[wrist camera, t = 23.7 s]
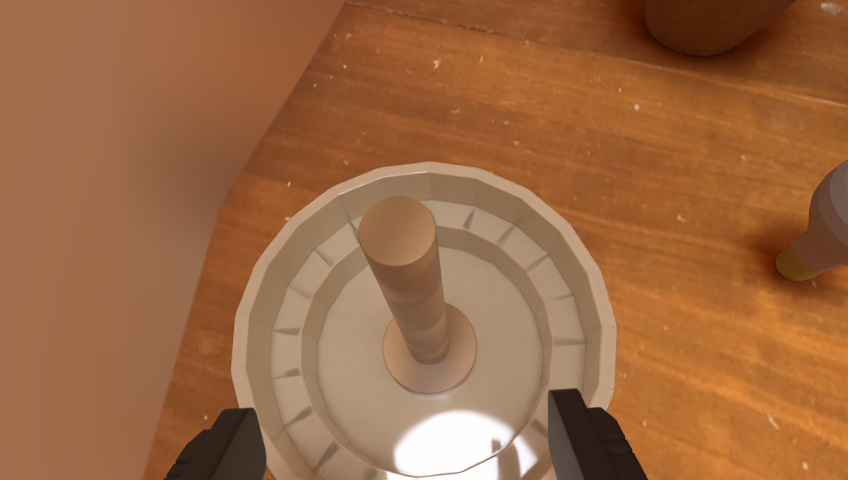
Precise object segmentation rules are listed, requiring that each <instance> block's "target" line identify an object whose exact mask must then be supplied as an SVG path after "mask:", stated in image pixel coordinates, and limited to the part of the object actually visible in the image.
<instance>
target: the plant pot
mask: <svg viewBox="0 0 848 480" xmlns="http://www.w3.org/2000/svg"><path fill="white" fill-rule="evenodd" d="M795 1H796V0H644V10H645V22H646V26H647V28H648V30H649V32H650V34H651V35H652V36H653V37H654V38H655V39H656V40H657V41H658V42H659V43H660V44H662V45H664V46H665V47H667V48H669V49H671V50H673V51H675V52H679V53H682V54H687V55H693V56H711V55H716V54H720V53H723V52H725V51H728V50H730V49H732V48H733V47H735V46H736V45H738V44H739V43H741V42H742V41H743V40H745V39H746V38H748V37H749V36H750V35H752V34H753V33H755V32H756V31H757V30H759V29H760V28H761V27H763V26H764V25H765V24H767V23H768V22H769V21H771V20H772V19H773V18H775V17H776V16H777V15H779V14H780V13H781V12H782V11H784V10H785V9H786V8H787V7H789V6H790V5H791V4H792V3H794V2H795Z"/></svg>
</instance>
